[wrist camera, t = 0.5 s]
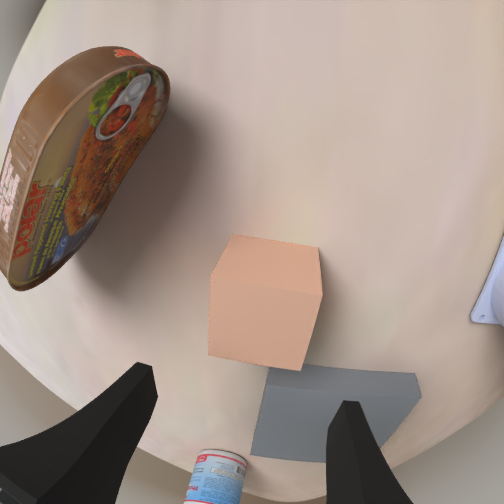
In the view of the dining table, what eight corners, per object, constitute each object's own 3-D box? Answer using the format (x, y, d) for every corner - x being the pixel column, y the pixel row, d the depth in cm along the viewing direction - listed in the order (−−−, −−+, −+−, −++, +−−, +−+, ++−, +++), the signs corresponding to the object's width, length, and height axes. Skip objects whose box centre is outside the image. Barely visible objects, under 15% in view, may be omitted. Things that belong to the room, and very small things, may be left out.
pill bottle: (197, 443, 30) (171, 523, 20) (248, 453, 29) (231, 537, 19) (200, 462, 33) (179, 532, 23) (246, 470, 32) (231, 543, 22)
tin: (81, 256, 20) (8, 319, 13) (54, 229, 20) (-22, 283, 12) (194, 79, 14) (105, 59, 7) (155, 51, 14) (54, 24, 6)
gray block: (413, 369, 21) (421, 396, 18) (364, 440, 26) (365, 463, 24) (271, 354, 22) (266, 384, 20) (254, 431, 28) (250, 454, 25)
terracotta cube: (318, 246, 17) (322, 295, 13) (302, 315, 20) (300, 370, 15) (232, 233, 18) (210, 277, 13) (227, 302, 20) (208, 355, 16)
